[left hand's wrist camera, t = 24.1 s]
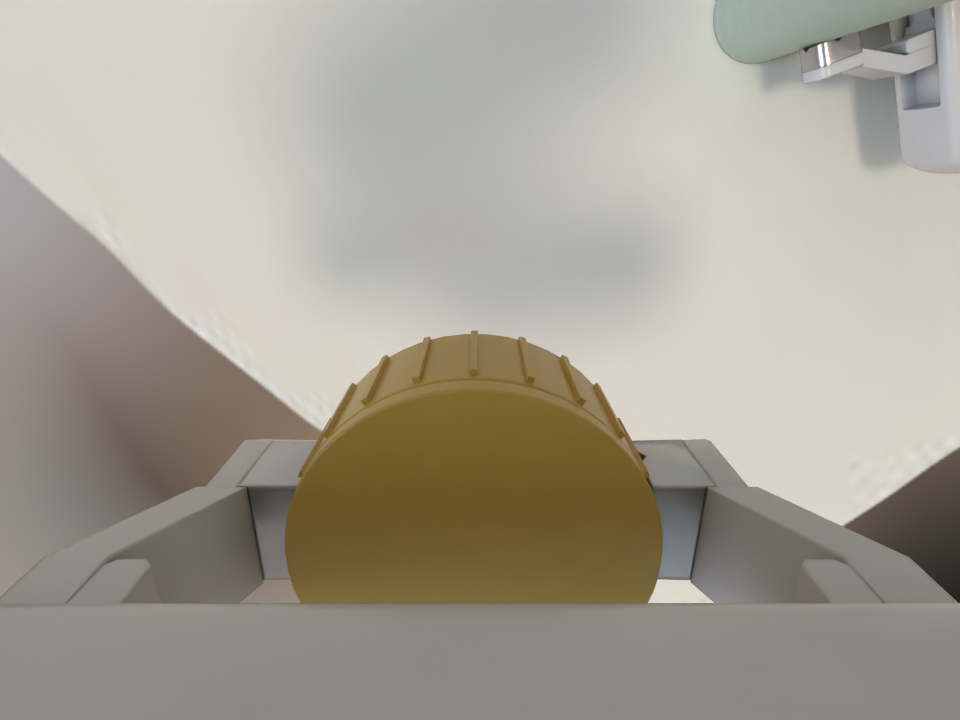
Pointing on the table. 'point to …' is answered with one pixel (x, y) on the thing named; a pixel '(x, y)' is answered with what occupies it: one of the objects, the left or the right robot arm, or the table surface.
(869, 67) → the right robot arm
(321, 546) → the lid
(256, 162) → the table surface
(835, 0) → the pale green cylinder
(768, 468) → the table surface
